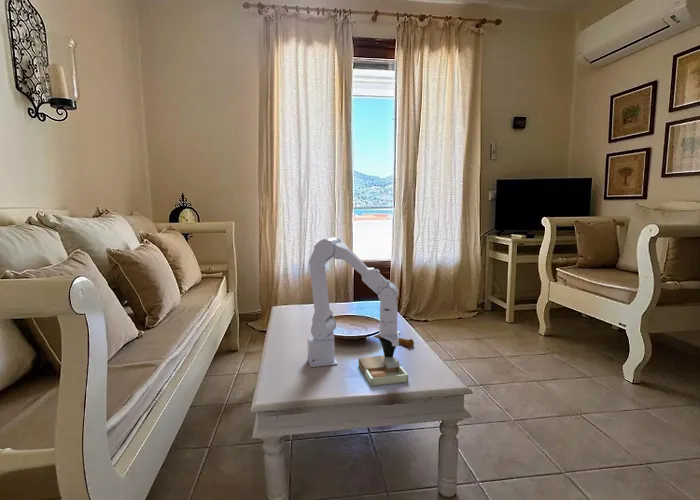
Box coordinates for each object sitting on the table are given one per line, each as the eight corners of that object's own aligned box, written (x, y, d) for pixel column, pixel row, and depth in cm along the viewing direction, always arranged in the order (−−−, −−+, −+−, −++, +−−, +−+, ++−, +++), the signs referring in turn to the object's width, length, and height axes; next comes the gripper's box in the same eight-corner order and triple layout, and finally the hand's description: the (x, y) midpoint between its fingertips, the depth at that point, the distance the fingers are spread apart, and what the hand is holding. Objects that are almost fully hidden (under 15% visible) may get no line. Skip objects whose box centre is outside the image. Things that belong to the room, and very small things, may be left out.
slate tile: (387, 368, 127) (387, 362, 127) (383, 363, 131) (383, 357, 131) (399, 367, 128) (399, 361, 128) (395, 362, 132) (395, 356, 132)
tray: (371, 386, 121) (371, 379, 121) (365, 376, 128) (365, 369, 127) (408, 382, 124) (408, 374, 123) (400, 372, 130) (400, 365, 130)
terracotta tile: (369, 371, 126) (370, 378, 126) (373, 374, 122) (373, 380, 122) (381, 370, 127) (382, 376, 126) (385, 372, 123) (386, 379, 123)
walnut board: (365, 376, 128) (365, 368, 127) (358, 365, 136) (358, 358, 136) (400, 372, 130) (400, 365, 130) (391, 361, 139) (391, 354, 139)
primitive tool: (372, 337, 165) (373, 329, 164) (381, 334, 168) (381, 326, 168) (409, 350, 151) (409, 341, 150) (418, 346, 154) (418, 337, 154)
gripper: (407, 325, 125) (407, 366, 127) (392, 313, 139) (392, 350, 141) (386, 327, 123) (386, 369, 125) (373, 314, 137) (373, 352, 139)
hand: (388, 359), depth 133 cm, fingers closed
